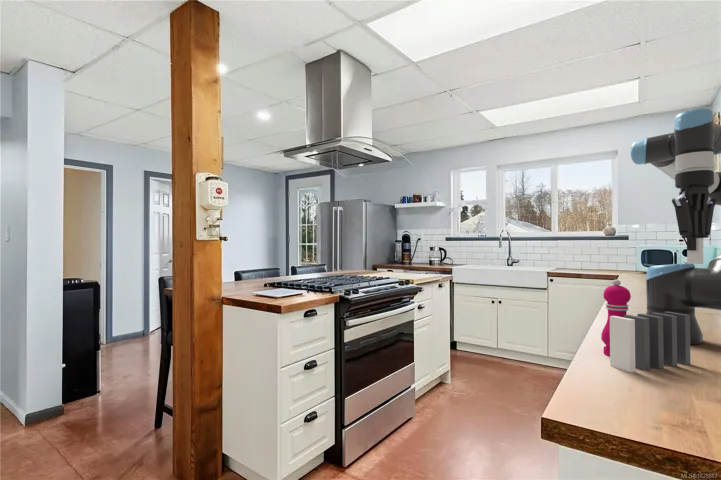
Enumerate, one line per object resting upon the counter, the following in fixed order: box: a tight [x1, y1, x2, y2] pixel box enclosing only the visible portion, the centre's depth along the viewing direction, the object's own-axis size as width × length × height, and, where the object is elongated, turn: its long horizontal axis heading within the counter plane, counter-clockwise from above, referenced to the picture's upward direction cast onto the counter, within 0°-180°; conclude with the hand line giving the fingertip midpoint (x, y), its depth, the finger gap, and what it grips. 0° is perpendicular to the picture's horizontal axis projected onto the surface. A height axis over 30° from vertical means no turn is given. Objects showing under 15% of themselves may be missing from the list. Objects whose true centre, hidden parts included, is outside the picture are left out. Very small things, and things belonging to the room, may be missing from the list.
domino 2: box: [636, 313, 665, 369], centre depth 93 cm, size 2×5×12 cm, turn 17°
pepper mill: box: [600, 279, 632, 357], centre depth 101 cm, size 7×7×20 cm
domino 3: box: [651, 313, 678, 367], centre depth 95 cm, size 2×5×12 cm, turn 17°
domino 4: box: [664, 312, 691, 366], centre depth 96 cm, size 2×5×12 cm, turn 17°
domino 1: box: [624, 314, 651, 371], centre depth 92 cm, size 2×5×12 cm, turn 17°
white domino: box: [609, 316, 636, 373], centre depth 91 cm, size 2×5×12 cm, turn 17°
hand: (695, 263), depth 98 cm, fingers closed
